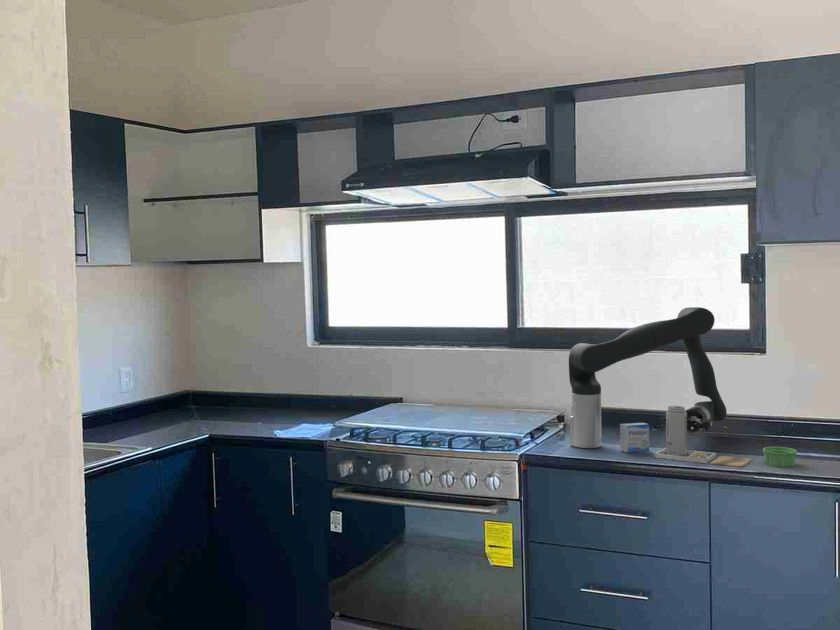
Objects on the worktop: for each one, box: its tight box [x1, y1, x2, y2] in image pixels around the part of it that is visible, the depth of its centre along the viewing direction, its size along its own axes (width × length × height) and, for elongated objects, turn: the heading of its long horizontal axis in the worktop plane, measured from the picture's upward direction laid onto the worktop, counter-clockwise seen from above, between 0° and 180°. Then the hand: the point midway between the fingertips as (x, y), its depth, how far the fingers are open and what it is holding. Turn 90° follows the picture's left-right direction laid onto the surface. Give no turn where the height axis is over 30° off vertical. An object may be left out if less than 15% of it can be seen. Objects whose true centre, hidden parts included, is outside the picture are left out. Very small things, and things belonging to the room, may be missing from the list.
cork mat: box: [709, 455, 753, 469], centre depth 244 cm, size 9×11×1 cm
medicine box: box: [619, 422, 650, 454], centre depth 261 cm, size 8×4×9 cm, turn 105°
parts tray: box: [653, 447, 718, 464], centre depth 251 cm, size 16×10×1 cm, turn 55°
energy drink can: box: [665, 405, 688, 457], centre depth 252 cm, size 6×6×15 cm
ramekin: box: [762, 446, 798, 468], centre depth 240 cm, size 9×9×4 cm
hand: (680, 426), depth 256 cm, fingers open, 8 cm apart
